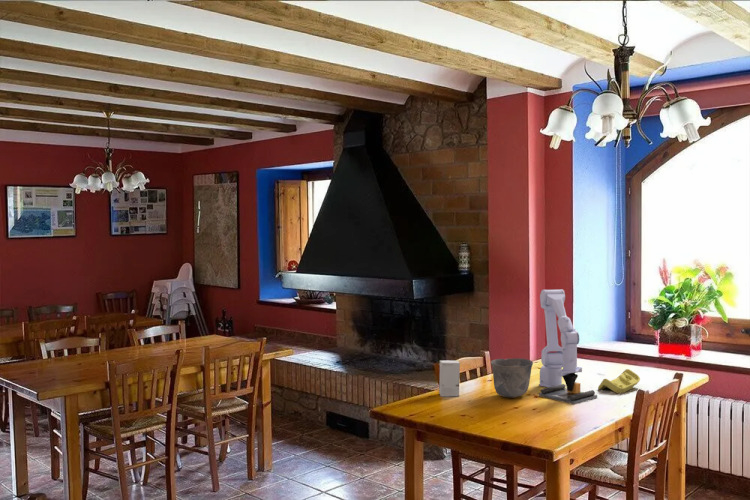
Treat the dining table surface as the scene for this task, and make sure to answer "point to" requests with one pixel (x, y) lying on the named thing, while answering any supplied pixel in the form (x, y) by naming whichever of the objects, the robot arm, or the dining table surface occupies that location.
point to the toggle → (575, 388)
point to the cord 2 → (582, 395)
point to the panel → (565, 396)
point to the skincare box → (449, 378)
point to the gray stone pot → (511, 376)
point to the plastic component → (621, 382)
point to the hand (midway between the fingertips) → (569, 390)
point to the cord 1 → (552, 388)
